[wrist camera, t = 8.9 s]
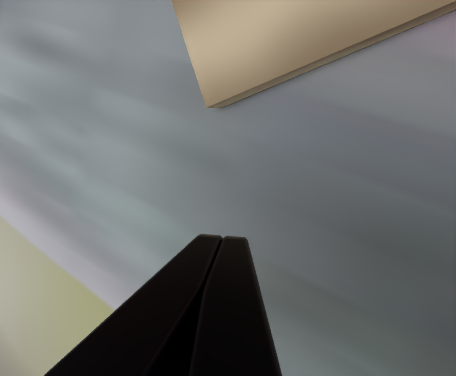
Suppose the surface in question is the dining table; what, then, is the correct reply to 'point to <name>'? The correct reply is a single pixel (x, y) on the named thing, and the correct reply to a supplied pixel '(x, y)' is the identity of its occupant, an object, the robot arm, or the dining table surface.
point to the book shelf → (285, 37)
